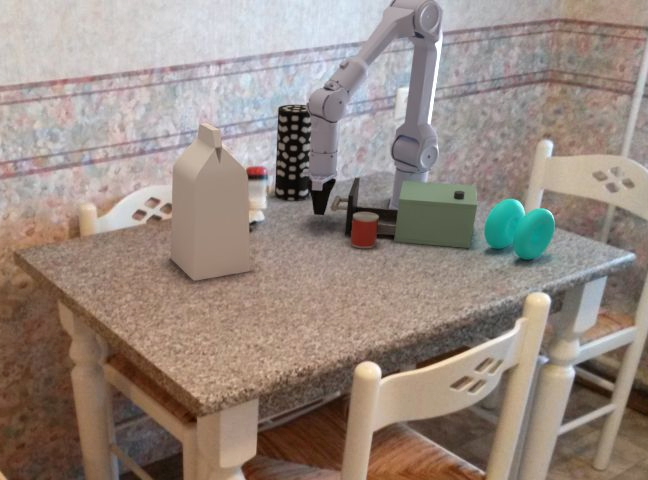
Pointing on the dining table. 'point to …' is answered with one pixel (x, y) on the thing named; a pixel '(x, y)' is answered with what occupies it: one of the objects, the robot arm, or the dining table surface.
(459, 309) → the dining table surface
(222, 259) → the milk
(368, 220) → the can
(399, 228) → the green box with knob
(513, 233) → the turquoise yo-yo
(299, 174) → the spotted tube
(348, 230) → the open drawer with handle
